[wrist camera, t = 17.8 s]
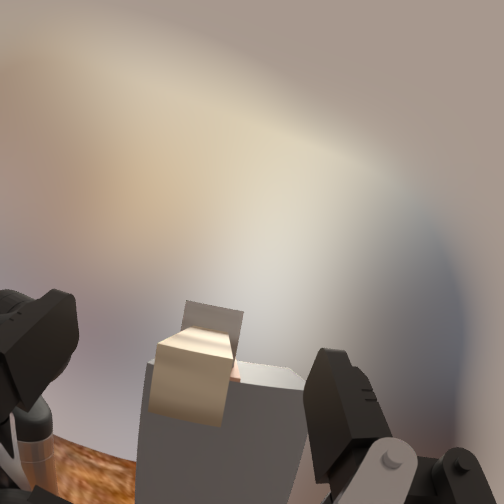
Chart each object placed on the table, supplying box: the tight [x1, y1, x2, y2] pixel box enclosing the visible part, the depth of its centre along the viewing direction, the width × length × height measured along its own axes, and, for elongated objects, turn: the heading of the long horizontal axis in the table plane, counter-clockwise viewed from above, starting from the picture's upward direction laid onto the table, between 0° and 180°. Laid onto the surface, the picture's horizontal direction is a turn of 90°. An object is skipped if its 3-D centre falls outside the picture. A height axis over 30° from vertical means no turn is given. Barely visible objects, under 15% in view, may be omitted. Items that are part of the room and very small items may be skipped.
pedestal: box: [135, 358, 308, 504], centre depth 22 cm, size 10×13×32 cm
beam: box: [148, 300, 244, 427], centre depth 20 cm, size 20×5×5 cm, turn 6°
